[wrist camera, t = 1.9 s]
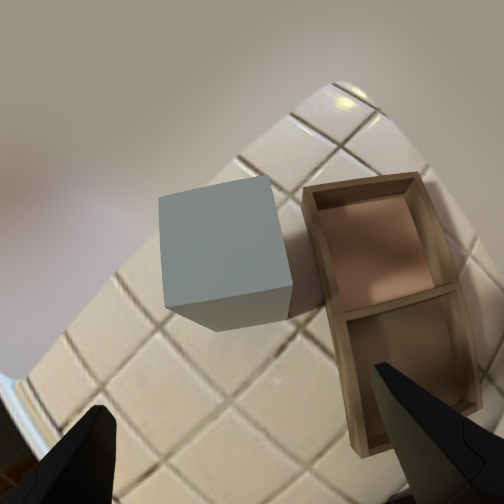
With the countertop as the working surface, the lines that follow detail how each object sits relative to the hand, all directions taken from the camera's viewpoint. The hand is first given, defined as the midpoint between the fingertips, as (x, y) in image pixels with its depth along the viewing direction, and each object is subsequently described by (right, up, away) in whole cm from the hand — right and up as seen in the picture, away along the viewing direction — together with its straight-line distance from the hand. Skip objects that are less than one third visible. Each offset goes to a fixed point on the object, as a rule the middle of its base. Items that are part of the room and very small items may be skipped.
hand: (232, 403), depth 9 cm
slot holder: (+11, +1, +12) cm, 16 cm away
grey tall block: (0, +2, +13) cm, 13 cm away
